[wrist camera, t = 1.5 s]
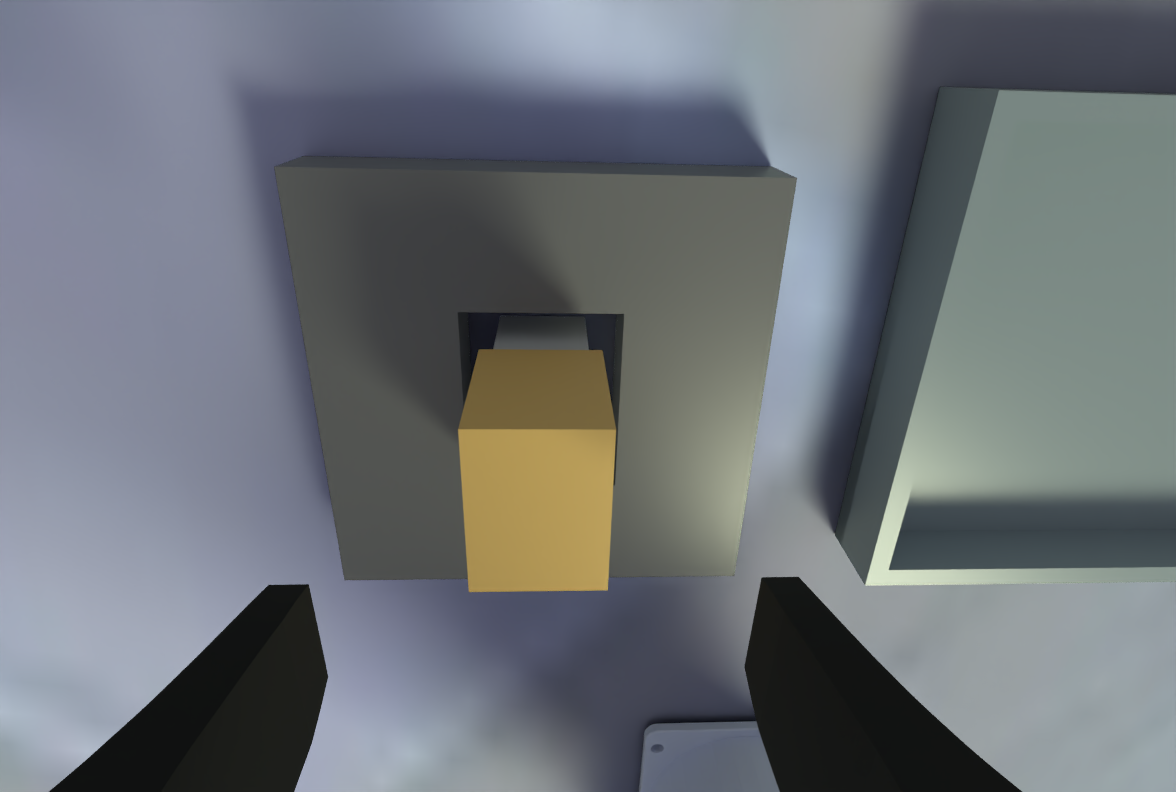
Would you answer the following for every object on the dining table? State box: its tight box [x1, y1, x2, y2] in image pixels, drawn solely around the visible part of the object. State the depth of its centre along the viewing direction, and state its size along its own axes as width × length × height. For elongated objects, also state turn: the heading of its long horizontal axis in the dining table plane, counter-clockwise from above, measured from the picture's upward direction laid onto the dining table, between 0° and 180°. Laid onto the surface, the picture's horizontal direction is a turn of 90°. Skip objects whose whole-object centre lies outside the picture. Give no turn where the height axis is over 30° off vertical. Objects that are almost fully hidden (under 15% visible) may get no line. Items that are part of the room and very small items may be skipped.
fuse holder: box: [274, 156, 797, 580], centre depth 19 cm, size 12×12×2 cm
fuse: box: [458, 316, 616, 592], centre depth 17 cm, size 4×3×7 cm
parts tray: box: [835, 87, 1176, 585], centre depth 19 cm, size 14×16×2 cm
